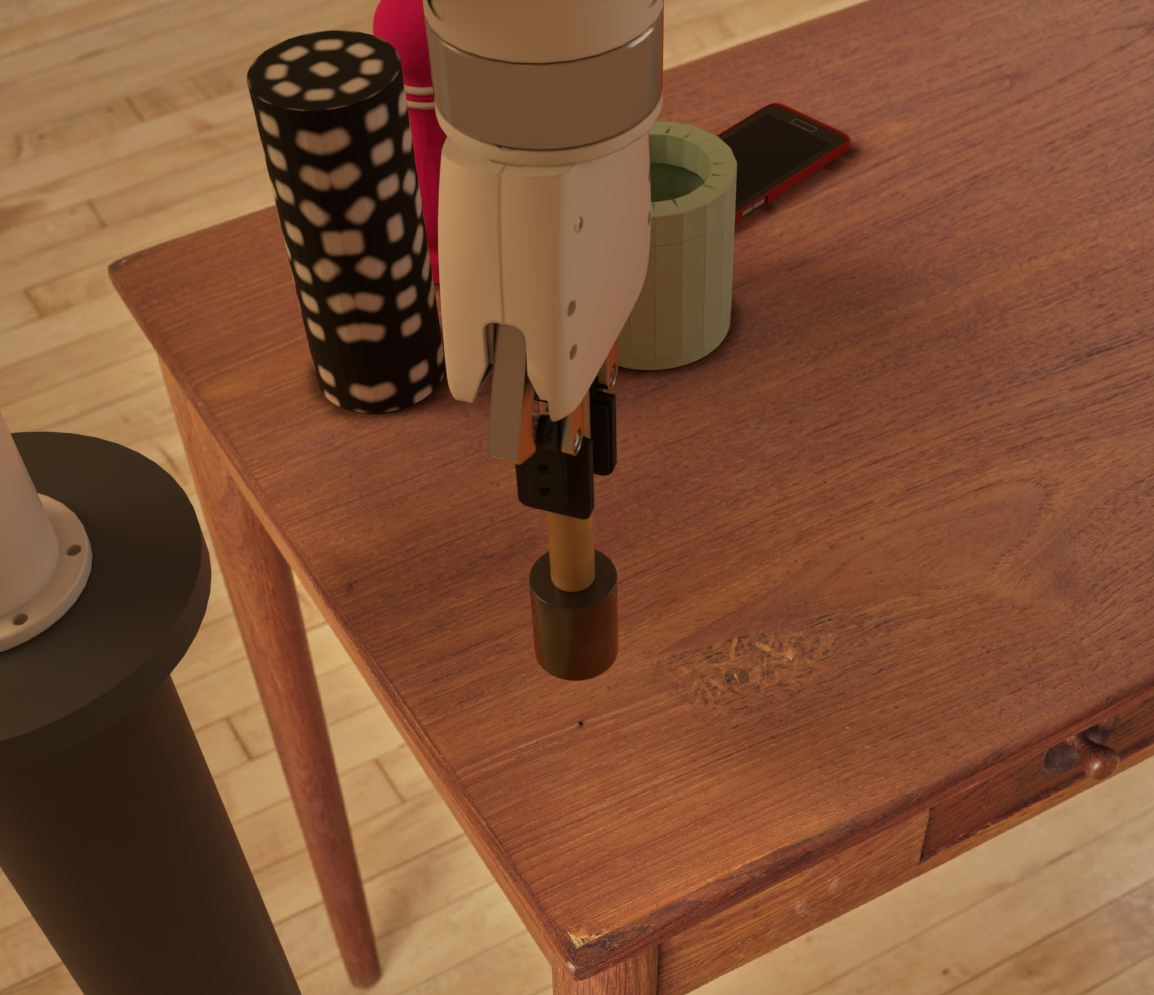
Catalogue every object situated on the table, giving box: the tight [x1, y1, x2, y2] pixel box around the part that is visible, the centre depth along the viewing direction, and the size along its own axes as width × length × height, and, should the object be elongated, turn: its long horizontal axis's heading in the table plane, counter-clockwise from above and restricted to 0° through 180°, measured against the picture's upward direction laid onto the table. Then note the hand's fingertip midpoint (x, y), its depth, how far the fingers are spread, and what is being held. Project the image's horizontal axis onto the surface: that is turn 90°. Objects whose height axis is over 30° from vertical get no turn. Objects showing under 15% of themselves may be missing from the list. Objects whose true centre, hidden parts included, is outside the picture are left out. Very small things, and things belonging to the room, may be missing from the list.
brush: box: [528, 389, 619, 682], centre depth 65 cm, size 4×4×16 cm
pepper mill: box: [372, 0, 447, 285], centre depth 95 cm, size 7×7×20 cm
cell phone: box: [716, 102, 851, 224], centre depth 107 cm, size 8×15×1 cm, turn 134°
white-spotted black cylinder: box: [246, 29, 446, 414], centre depth 88 cm, size 8×8×20 cm
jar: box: [618, 120, 737, 371], centre depth 94 cm, size 10×10×11 cm
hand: (568, 484), depth 63 cm, fingers closed on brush, 2 cm apart
